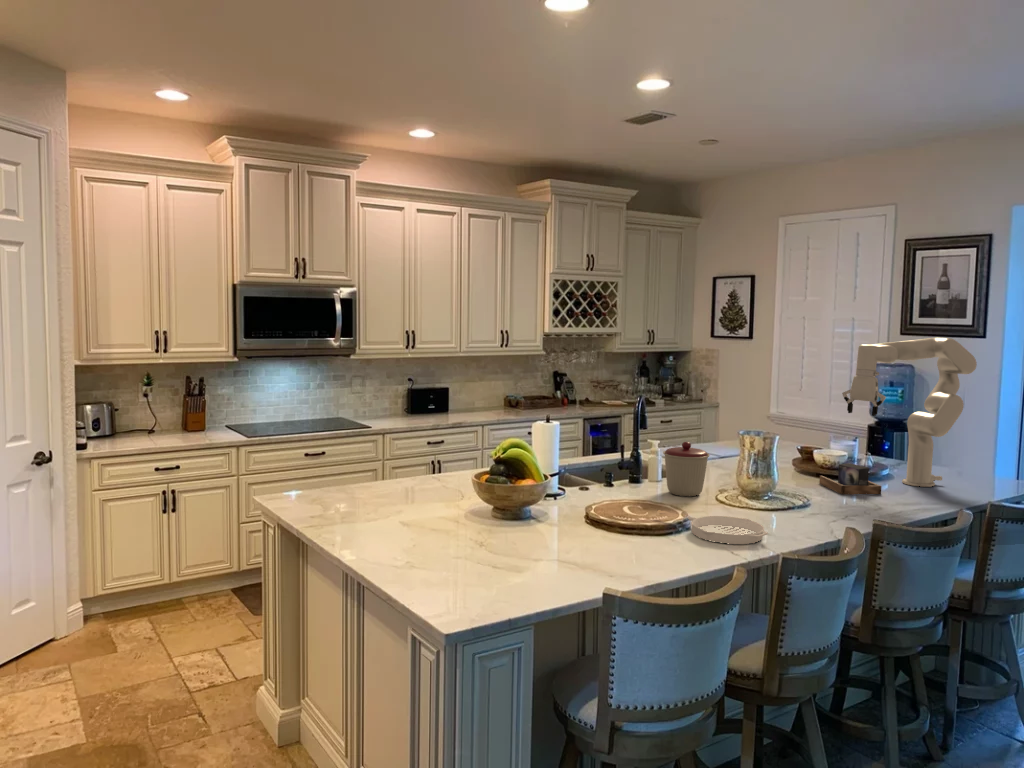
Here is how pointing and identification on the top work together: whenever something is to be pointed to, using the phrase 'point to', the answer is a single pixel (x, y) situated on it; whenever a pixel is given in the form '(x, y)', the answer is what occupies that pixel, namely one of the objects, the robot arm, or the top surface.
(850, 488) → the wooden u-shaped frame
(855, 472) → the small box
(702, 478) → the canister
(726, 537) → the pan
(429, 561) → the top surface
